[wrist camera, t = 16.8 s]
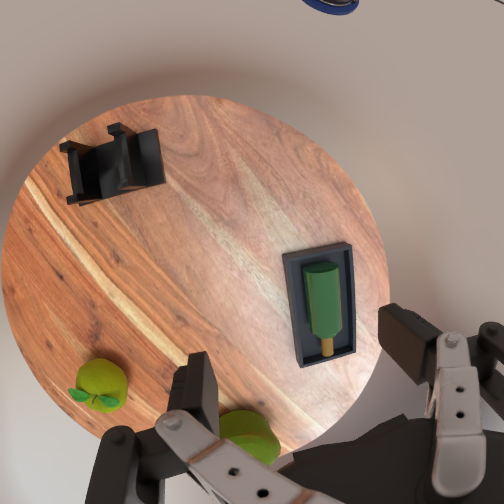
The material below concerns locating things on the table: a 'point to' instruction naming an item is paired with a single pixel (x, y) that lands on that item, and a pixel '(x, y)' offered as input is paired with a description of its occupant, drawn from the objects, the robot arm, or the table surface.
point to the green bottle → (324, 302)
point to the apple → (250, 434)
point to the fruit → (101, 386)
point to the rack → (114, 165)
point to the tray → (303, 338)
